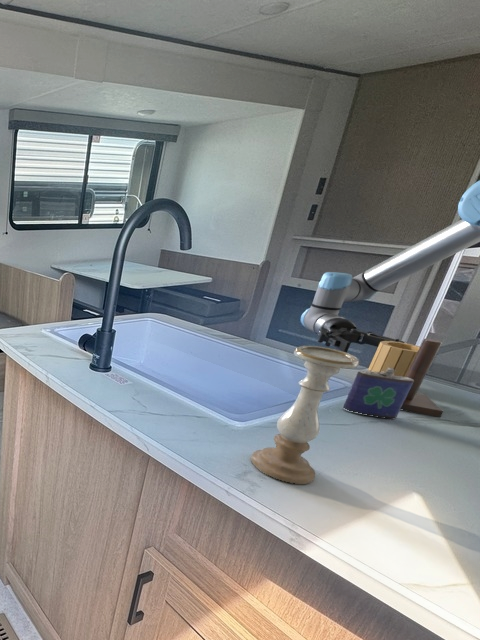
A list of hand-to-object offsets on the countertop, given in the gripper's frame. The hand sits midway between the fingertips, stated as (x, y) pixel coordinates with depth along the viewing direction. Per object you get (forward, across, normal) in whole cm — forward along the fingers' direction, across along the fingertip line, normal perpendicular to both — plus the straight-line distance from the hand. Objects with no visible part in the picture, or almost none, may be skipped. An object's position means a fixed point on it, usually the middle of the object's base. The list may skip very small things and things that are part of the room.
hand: (377, 350), depth 113 cm
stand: (+21, +4, -6) cm, 23 cm away
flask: (+31, +15, -6) cm, 35 cm away
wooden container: (+8, 0, -6) cm, 10 cm away
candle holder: (+61, +43, -6) cm, 75 cm away
